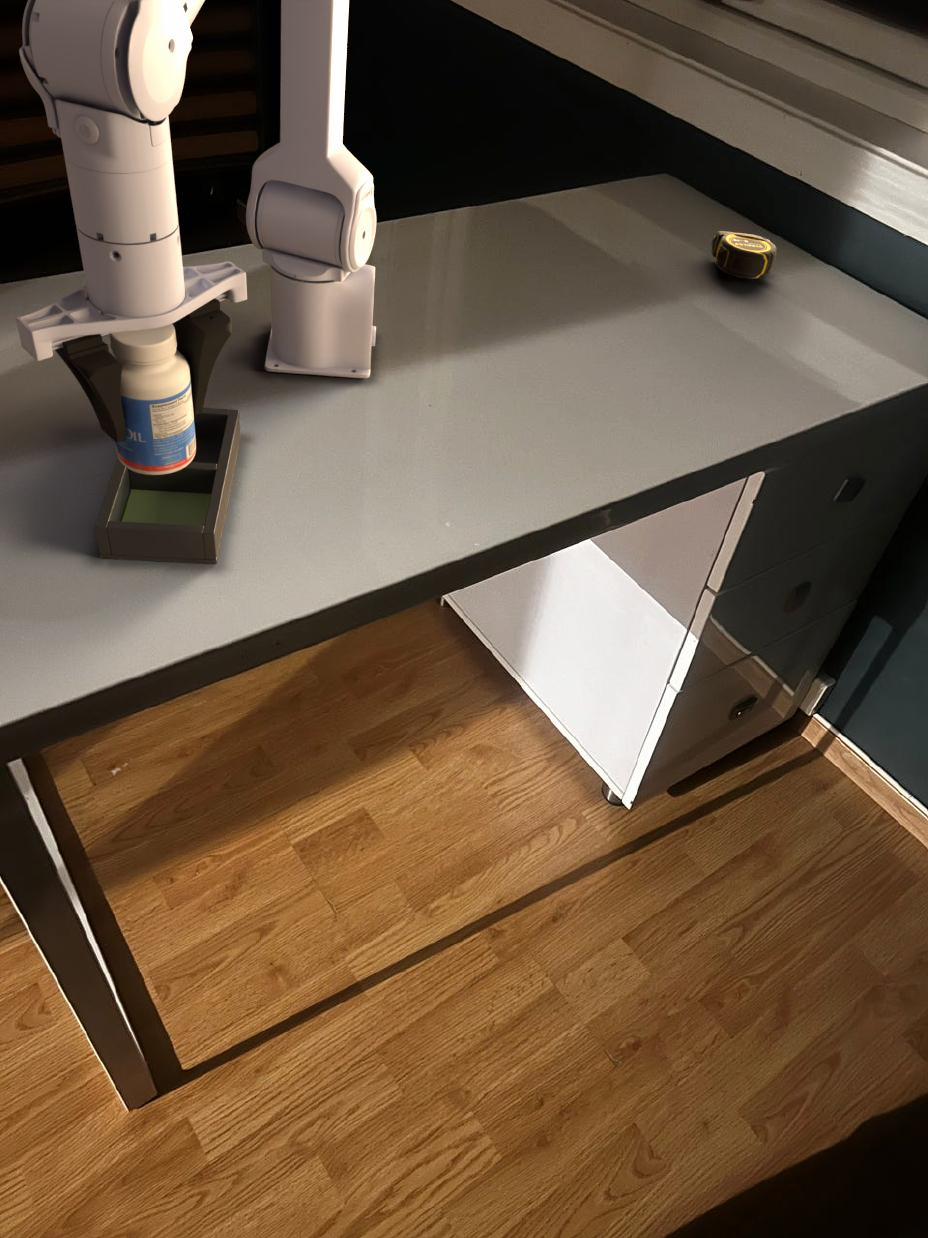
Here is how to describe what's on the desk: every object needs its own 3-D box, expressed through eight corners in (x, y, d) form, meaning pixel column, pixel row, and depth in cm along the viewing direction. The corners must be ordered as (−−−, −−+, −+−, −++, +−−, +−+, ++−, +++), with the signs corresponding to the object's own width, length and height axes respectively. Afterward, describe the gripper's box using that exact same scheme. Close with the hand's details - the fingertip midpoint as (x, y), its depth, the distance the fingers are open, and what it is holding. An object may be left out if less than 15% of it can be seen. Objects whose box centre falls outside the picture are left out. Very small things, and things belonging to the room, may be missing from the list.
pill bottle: (101, 448, 68) (79, 320, 61) (169, 423, 71) (155, 298, 64) (144, 488, 66) (125, 359, 59) (212, 460, 69) (202, 335, 62)
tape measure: (762, 262, 117) (773, 232, 115) (772, 289, 112) (784, 257, 110) (707, 255, 117) (716, 224, 114) (714, 281, 112) (724, 249, 110)
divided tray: (241, 439, 81) (239, 409, 79) (217, 564, 70) (214, 533, 68) (140, 432, 80) (136, 402, 78) (100, 558, 69) (94, 527, 67)
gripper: (198, 175, 63) (213, 362, 72) (-27, 222, 55) (22, 425, 64) (262, 217, 59) (269, 407, 69) (32, 273, 52) (75, 479, 61)
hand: (153, 419), depth 66 cm, fingers closed on pill bottle, 5 cm apart
